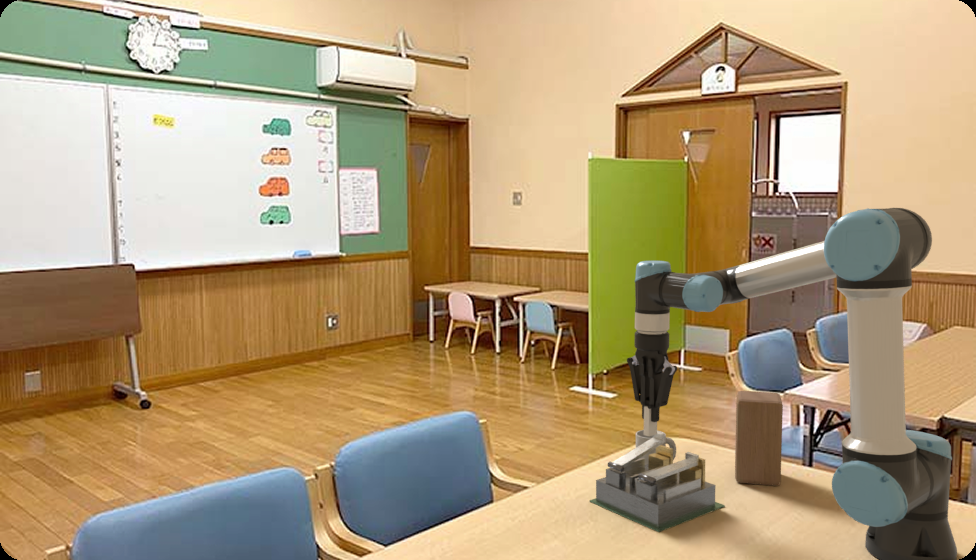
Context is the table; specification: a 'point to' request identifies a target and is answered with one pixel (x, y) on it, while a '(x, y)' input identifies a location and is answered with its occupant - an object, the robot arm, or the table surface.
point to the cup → (643, 438)
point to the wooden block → (758, 438)
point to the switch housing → (657, 493)
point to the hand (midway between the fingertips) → (650, 434)
